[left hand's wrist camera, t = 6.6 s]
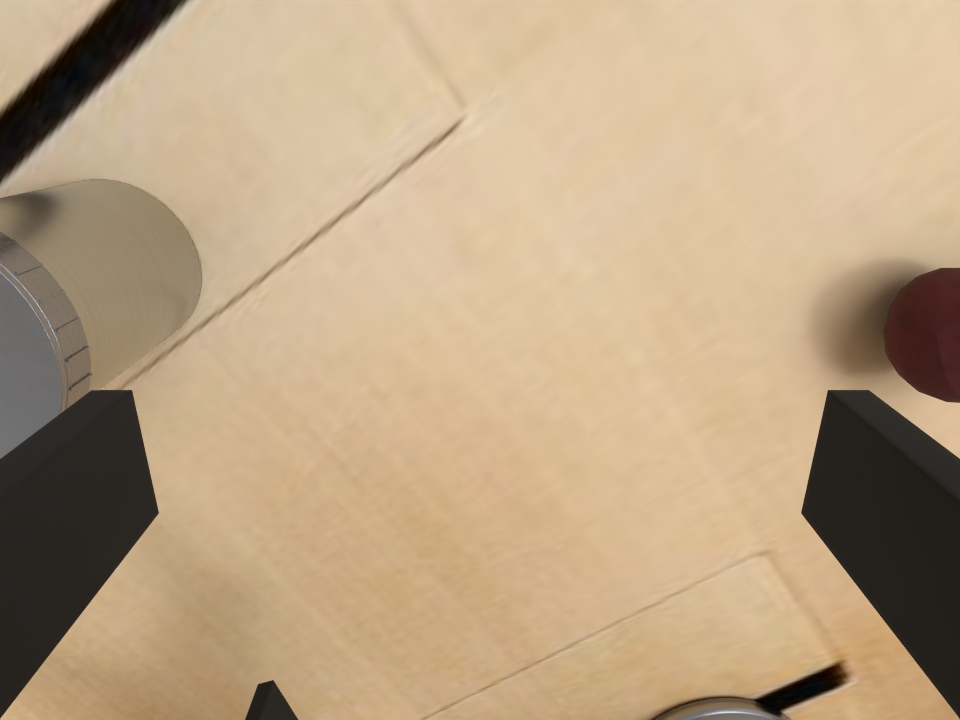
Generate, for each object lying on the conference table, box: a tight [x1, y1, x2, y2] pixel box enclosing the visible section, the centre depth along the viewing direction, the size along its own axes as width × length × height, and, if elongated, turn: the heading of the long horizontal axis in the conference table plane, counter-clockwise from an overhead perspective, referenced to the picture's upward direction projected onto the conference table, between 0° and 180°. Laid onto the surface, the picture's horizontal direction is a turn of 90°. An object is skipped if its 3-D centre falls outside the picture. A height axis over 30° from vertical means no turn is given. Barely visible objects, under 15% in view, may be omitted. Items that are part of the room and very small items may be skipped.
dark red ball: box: [884, 268, 960, 403], centre depth 37 cm, size 7×8×7 cm
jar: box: [0, 179, 201, 392], centre depth 33 cm, size 10×10×15 cm
